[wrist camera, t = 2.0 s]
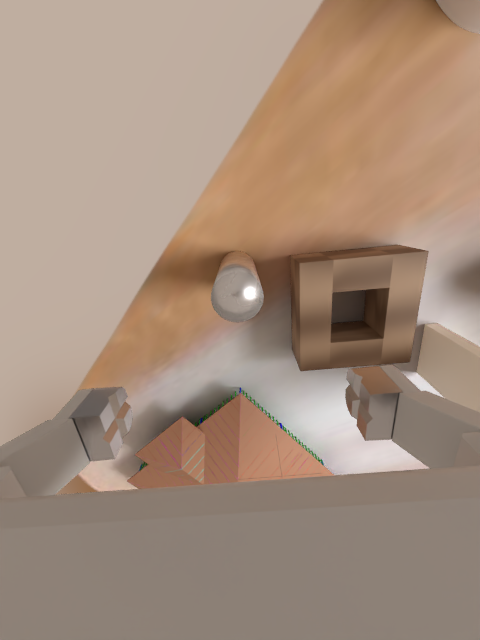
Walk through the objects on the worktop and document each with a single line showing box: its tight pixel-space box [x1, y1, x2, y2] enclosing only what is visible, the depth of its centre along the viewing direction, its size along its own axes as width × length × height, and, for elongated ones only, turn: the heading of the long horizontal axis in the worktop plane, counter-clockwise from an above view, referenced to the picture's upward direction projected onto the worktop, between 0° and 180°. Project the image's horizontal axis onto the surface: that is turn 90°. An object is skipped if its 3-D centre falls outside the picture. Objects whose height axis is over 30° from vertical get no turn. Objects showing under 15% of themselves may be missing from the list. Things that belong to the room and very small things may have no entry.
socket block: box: [290, 245, 428, 371], centre depth 30 cm, size 12×12×5 cm
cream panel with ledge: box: [416, 323, 480, 412], centre depth 22 cm, size 11×13×30 cm
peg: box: [211, 251, 264, 322], centre depth 25 cm, size 4×4×11 cm
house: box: [127, 387, 334, 489], centre depth 40 cm, size 23×33×8 cm
